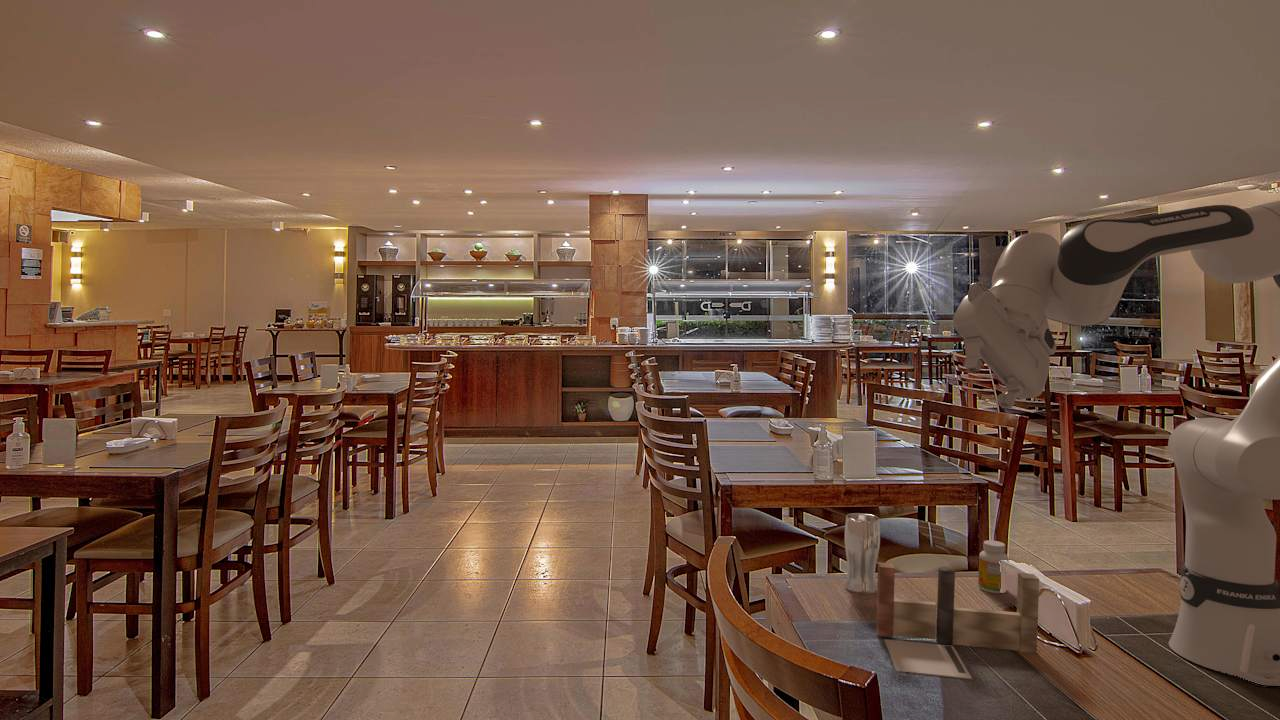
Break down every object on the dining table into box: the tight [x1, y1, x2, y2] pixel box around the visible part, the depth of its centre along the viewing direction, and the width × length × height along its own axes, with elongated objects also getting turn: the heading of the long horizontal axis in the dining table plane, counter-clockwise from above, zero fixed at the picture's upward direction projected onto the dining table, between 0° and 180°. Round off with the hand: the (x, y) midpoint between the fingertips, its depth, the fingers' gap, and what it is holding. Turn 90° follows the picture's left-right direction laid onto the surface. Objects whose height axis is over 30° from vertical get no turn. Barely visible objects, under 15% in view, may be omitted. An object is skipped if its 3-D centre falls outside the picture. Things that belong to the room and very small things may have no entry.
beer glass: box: [844, 512, 881, 595], centre depth 138 cm, size 7×7×15 cm
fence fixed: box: [935, 566, 1040, 655], centre depth 113 cm, size 15×3×13 cm, turn 79°
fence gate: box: [875, 561, 937, 640], centre depth 116 cm, size 9×2×12 cm, turn 79°
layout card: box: [884, 638, 973, 680], centre depth 109 cm, size 11×11×1 cm
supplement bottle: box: [977, 539, 1009, 594], centre depth 139 cm, size 5×5×10 cm
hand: (988, 387), depth 101 cm, fingers open, 8 cm apart
